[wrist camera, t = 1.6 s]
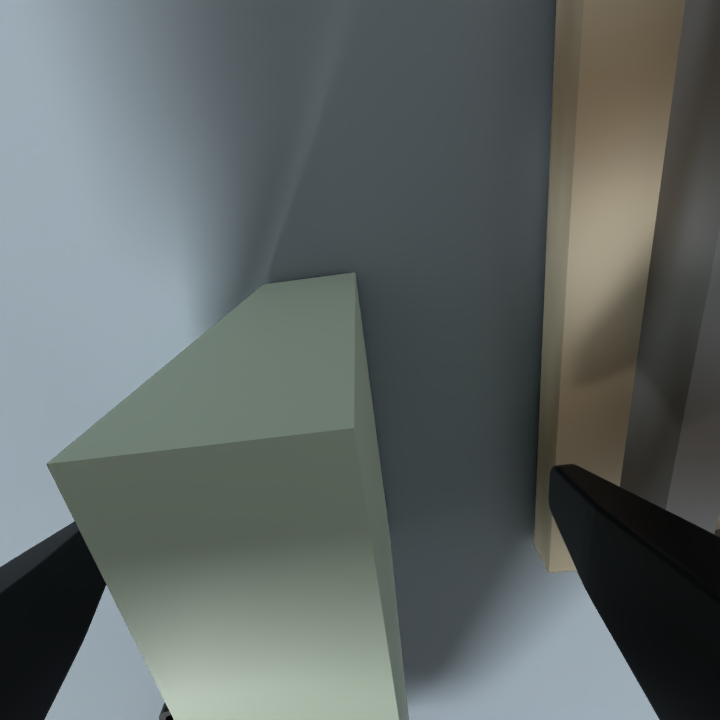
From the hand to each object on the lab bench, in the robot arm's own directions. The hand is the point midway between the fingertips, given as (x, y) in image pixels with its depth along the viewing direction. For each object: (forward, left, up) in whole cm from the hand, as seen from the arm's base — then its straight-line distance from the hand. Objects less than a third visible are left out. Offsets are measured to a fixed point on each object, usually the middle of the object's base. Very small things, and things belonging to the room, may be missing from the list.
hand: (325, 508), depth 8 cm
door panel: (0, 0, -3) cm, 3 cm away
